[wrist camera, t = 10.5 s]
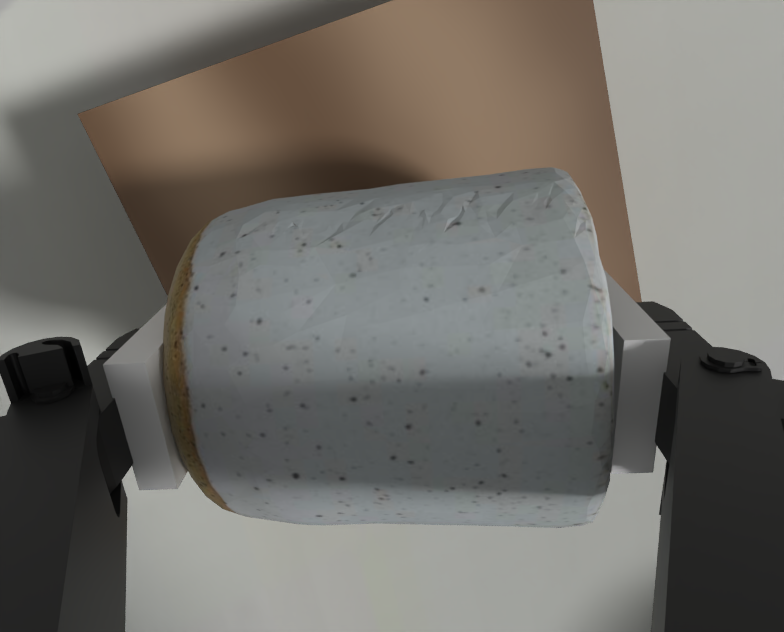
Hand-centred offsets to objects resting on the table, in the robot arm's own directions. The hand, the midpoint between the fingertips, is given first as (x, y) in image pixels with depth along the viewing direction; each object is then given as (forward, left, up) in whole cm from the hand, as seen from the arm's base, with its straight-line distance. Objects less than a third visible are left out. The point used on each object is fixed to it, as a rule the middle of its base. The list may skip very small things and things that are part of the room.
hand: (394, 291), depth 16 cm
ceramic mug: (0, +1, 0) cm, 2 cm away
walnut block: (0, 0, -9) cm, 9 cm away
